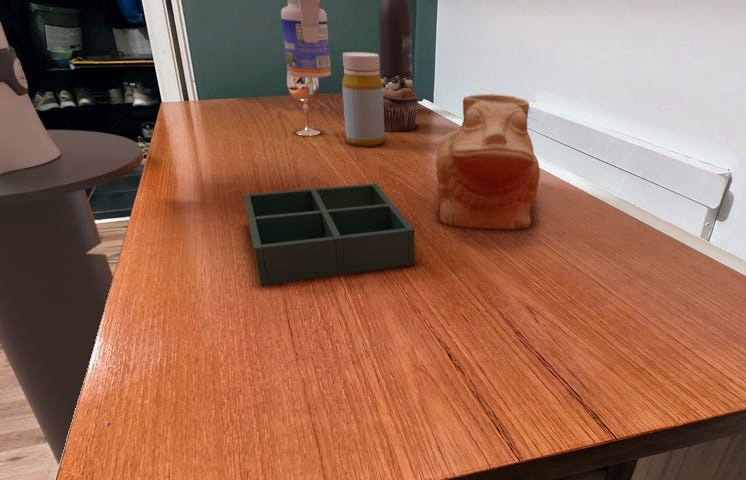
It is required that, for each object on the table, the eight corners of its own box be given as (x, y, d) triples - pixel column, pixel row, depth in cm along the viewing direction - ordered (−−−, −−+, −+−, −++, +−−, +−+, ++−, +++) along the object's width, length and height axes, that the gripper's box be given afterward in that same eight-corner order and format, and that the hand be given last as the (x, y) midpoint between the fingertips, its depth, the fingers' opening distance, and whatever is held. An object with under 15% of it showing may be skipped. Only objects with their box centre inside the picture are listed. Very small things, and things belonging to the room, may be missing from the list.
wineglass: (329, 131, 107) (323, 65, 101) (314, 137, 102) (307, 68, 96) (302, 128, 108) (295, 62, 102) (287, 134, 103) (278, 66, 97)
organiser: (260, 286, 53) (254, 248, 51) (249, 227, 65) (243, 194, 63) (415, 264, 59) (414, 229, 57) (377, 214, 71) (376, 183, 69)
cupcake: (428, 127, 115) (428, 76, 110) (397, 134, 108) (396, 80, 103) (393, 119, 119) (392, 70, 114) (362, 126, 112) (359, 74, 107)
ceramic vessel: (427, 240, 65) (428, 108, 57) (442, 174, 87) (444, 73, 79) (543, 246, 65) (560, 115, 57) (528, 179, 87) (539, 78, 80)
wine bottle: (406, 114, 124) (403, -41, 109) (377, 111, 125) (370, -43, 110) (416, 109, 130) (415, -40, 115) (388, 106, 131) (384, -41, 116)
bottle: (391, 144, 102) (389, 56, 94) (358, 148, 97) (353, 57, 90) (372, 135, 106) (367, 51, 98) (339, 140, 102) (332, 52, 94)
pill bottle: (285, 72, 71) (274, -15, 66) (327, 71, 73) (319, -13, 68) (291, 78, 67) (280, -14, 62) (335, 78, 69) (328, -12, 64)
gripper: (253, -94, 67) (270, 31, 75) (272, -113, 52) (291, 48, 59) (305, -89, 70) (317, 32, 77) (339, -106, 54) (350, 48, 61)
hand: (306, 39), depth 68 cm, fingers closed on pill bottle, 5 cm apart
